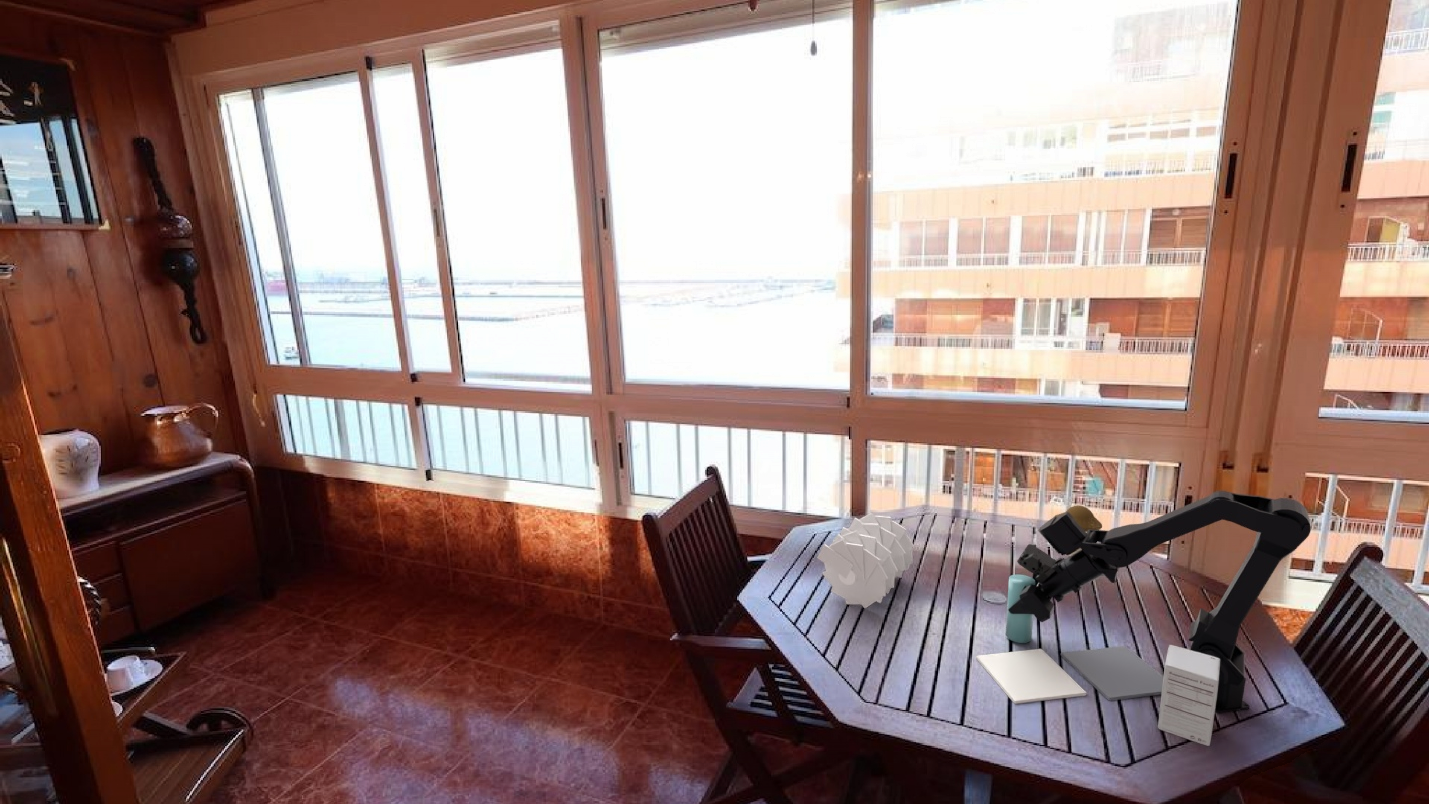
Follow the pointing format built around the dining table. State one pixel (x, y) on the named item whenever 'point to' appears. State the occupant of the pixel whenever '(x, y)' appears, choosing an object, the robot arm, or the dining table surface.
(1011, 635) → the teal cylinder
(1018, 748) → the dining table surface
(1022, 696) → the pale tile
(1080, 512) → the mushroom
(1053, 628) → the dining table surface
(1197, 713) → the supplement box
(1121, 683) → the slate tile
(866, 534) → the spiral staircase
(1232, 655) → the robot arm
